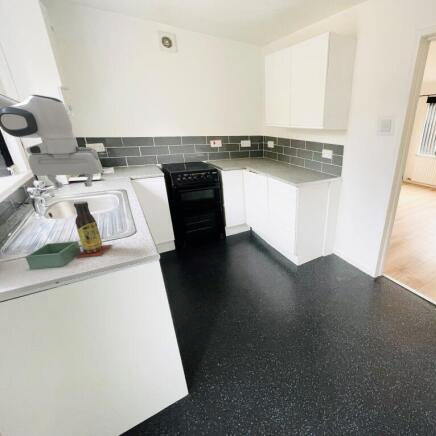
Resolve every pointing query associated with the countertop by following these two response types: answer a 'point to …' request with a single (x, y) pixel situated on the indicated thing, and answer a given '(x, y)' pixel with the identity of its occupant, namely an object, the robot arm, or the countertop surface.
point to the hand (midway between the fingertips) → (74, 187)
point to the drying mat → (99, 253)
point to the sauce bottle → (87, 228)
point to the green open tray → (53, 255)
